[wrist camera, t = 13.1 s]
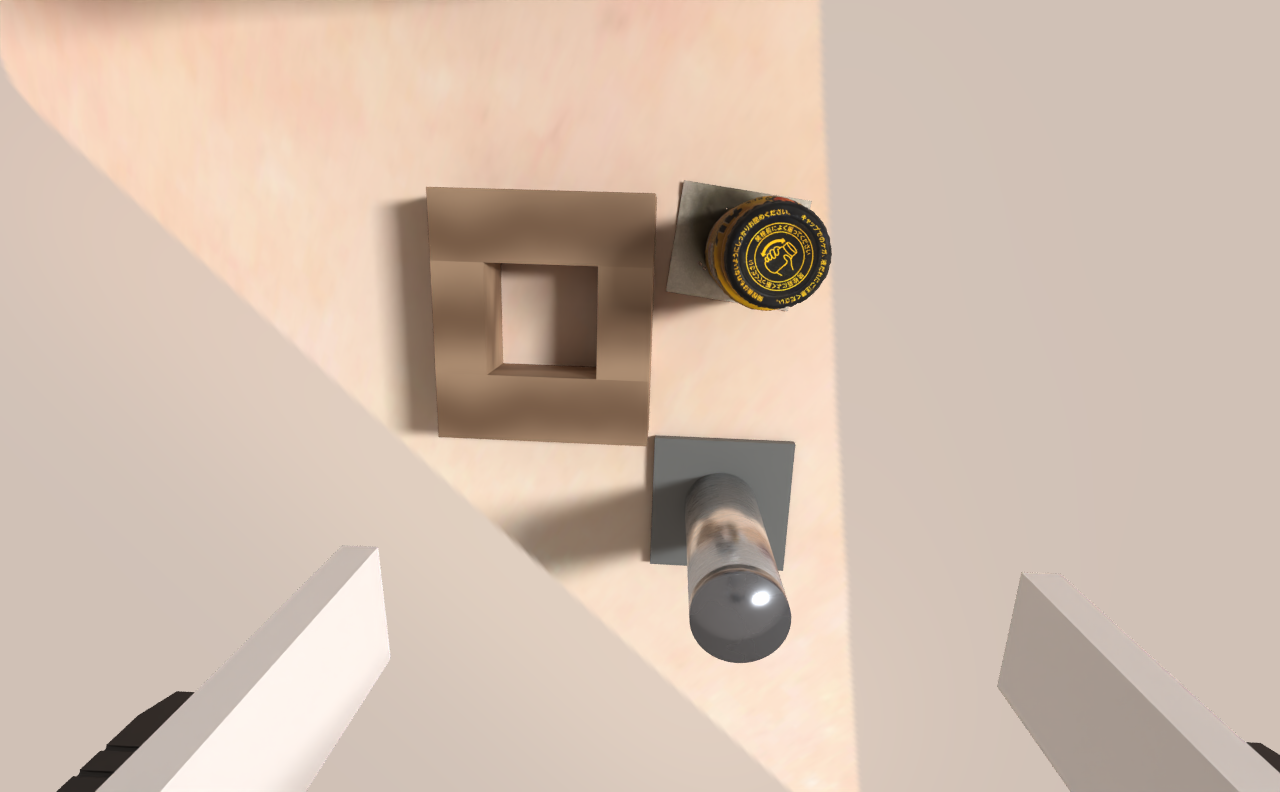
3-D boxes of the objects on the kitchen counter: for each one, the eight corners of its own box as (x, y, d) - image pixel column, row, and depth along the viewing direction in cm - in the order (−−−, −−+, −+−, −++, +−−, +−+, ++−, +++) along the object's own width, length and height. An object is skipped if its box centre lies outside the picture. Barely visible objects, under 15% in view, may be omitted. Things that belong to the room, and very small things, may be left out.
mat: (655, 435, 45) (655, 438, 44) (793, 441, 45) (795, 444, 44) (650, 559, 47) (650, 563, 47) (781, 566, 47) (782, 570, 46)
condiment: (787, 311, 42) (831, 336, 31) (665, 291, 42) (663, 309, 31) (811, 201, 41) (867, 184, 29) (684, 180, 41) (689, 155, 29)
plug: (686, 471, 45) (692, 571, 31) (758, 474, 45) (795, 576, 31) (683, 536, 46) (687, 659, 33) (753, 540, 46) (786, 665, 32)
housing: (448, 192, 42) (426, 186, 38) (656, 198, 41) (655, 193, 37) (458, 420, 45) (438, 436, 42) (648, 428, 45) (646, 446, 41)
